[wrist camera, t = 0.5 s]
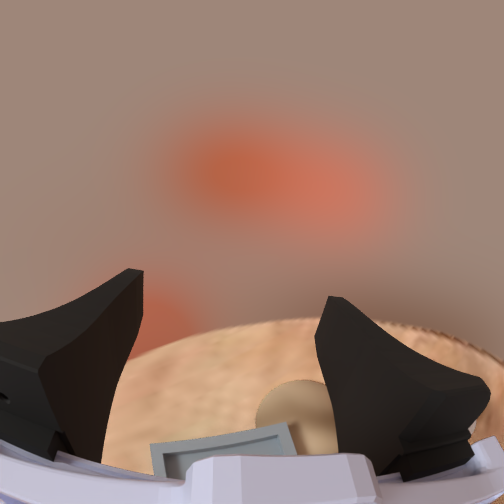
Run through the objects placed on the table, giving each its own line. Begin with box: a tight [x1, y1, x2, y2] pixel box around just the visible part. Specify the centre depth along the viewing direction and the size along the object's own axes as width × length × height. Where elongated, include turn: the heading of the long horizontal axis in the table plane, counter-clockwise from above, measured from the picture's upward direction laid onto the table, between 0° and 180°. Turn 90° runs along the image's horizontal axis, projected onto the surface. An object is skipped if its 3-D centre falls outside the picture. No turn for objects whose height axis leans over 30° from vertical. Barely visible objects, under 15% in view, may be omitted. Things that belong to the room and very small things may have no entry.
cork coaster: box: [256, 380, 338, 455], centre depth 26 cm, size 9×9×1 cm
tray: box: [150, 422, 297, 480], centre depth 20 cm, size 12×12×2 cm
